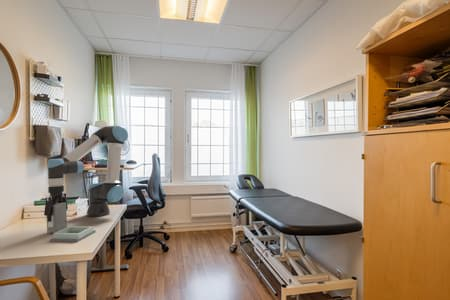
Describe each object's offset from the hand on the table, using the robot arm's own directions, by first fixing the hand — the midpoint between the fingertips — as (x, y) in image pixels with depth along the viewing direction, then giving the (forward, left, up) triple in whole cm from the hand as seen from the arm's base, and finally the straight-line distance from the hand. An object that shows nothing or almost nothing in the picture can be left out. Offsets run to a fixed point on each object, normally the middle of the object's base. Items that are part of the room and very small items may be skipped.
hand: (56, 224), depth 149 cm
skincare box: (0, 0, -4) cm, 4 cm away
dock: (+8, +16, -4) cm, 18 cm away
